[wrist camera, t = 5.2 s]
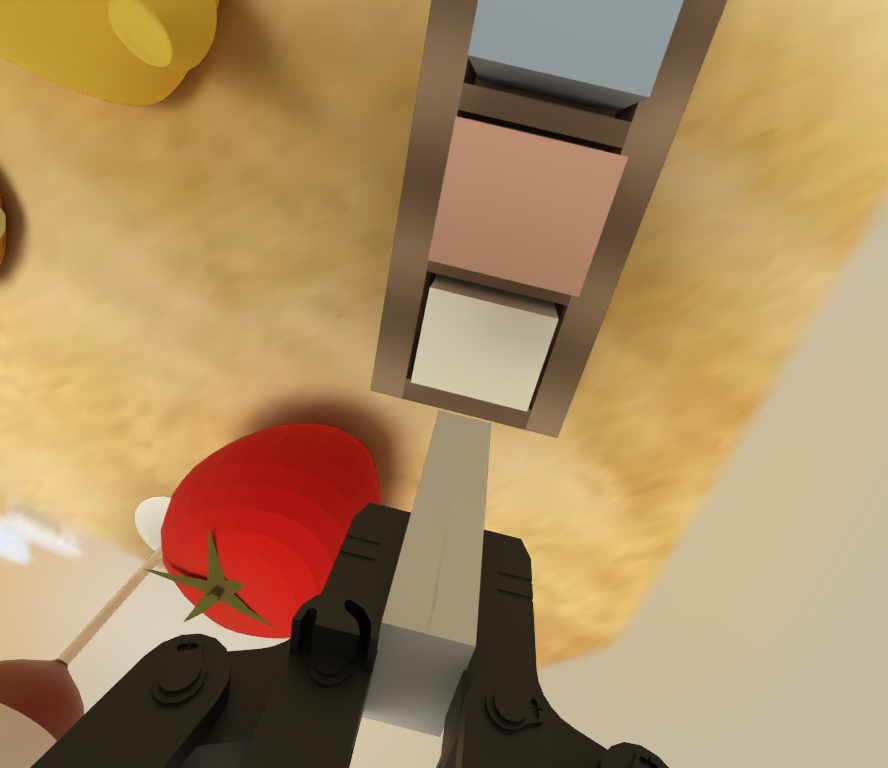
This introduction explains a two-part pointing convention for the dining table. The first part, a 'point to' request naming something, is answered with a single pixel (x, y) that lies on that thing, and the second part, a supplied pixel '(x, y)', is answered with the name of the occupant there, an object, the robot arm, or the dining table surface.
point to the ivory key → (483, 342)
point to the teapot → (109, 44)
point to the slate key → (574, 47)
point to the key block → (619, 132)
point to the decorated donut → (2, 231)
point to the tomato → (265, 524)
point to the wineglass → (61, 669)
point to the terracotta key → (523, 206)
